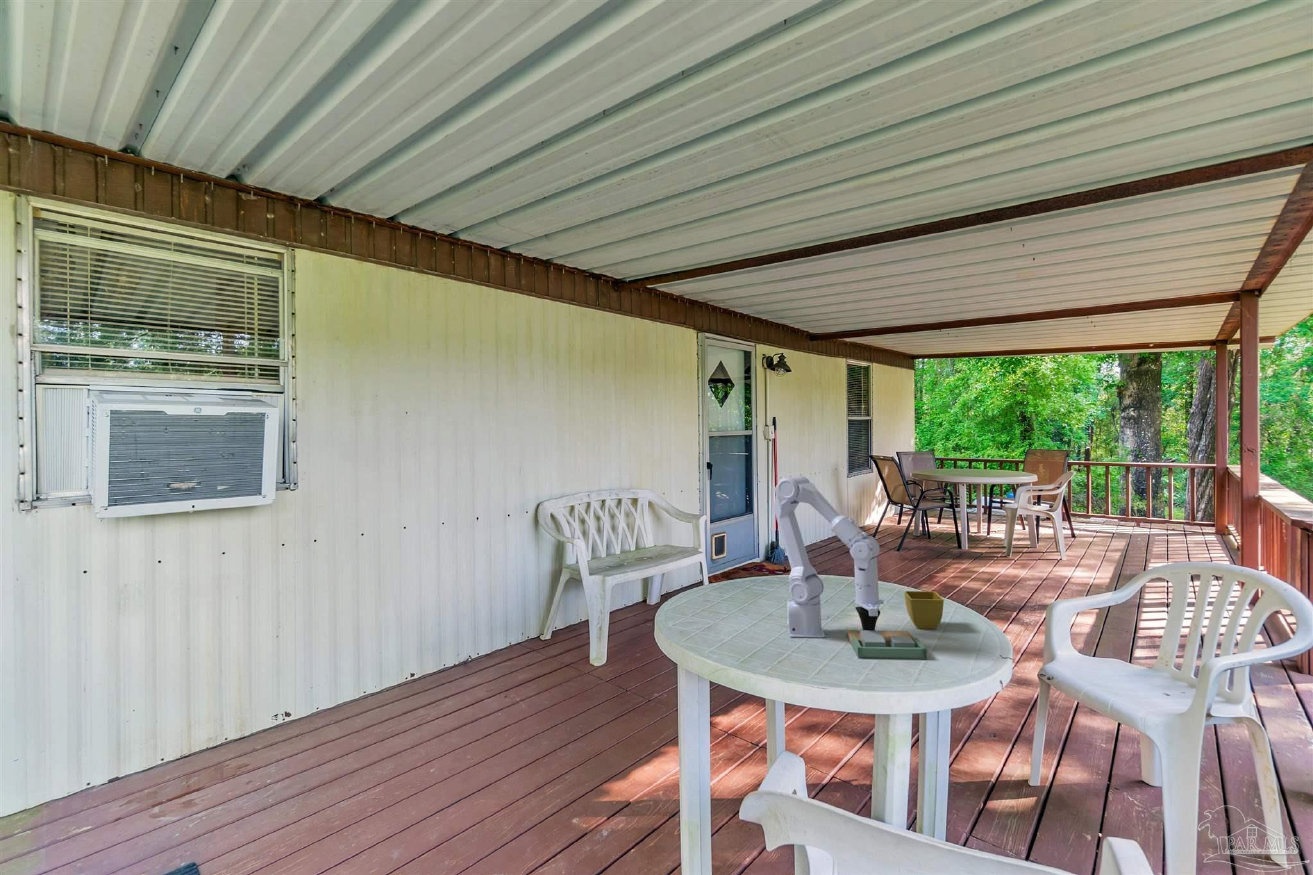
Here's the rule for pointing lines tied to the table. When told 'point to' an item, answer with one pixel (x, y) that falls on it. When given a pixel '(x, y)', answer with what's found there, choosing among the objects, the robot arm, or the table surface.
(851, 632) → the board
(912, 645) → the tile right
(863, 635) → the tile left
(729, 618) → the table surface
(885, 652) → the tray
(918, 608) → the flower pot
